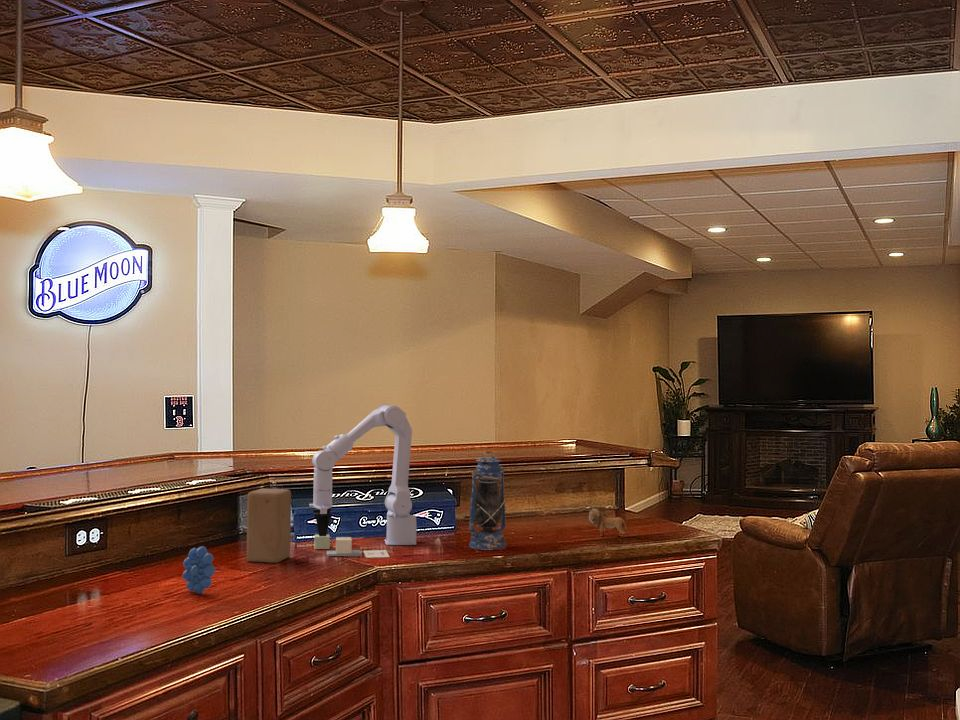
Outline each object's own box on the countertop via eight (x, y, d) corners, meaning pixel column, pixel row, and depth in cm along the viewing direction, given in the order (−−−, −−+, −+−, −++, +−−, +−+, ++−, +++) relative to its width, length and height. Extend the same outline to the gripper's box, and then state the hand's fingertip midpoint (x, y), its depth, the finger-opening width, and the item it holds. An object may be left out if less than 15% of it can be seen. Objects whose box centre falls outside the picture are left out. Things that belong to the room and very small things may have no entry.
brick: (351, 550, 300) (351, 537, 300) (351, 553, 295) (351, 539, 295) (335, 550, 299) (336, 537, 299) (336, 553, 295) (336, 540, 295)
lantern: (483, 553, 303) (484, 454, 302) (456, 547, 311) (457, 451, 311) (518, 547, 313) (519, 451, 313) (491, 541, 322) (492, 448, 322)
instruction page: (385, 550, 304) (386, 549, 304) (389, 557, 295) (389, 556, 295) (362, 551, 303) (363, 550, 303) (365, 557, 293) (365, 556, 293)
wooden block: (277, 564, 283) (278, 493, 283) (245, 562, 285) (246, 492, 285) (291, 557, 293) (292, 489, 293) (259, 555, 295) (260, 487, 295)
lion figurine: (586, 536, 333) (587, 509, 333) (590, 533, 339) (590, 507, 338) (630, 539, 329) (631, 512, 329) (633, 537, 334) (633, 510, 334)
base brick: (359, 554, 301) (359, 549, 301) (361, 557, 296) (361, 552, 296) (326, 555, 299) (326, 550, 299) (327, 559, 294) (328, 554, 294)
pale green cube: (329, 547, 310) (329, 534, 310) (329, 549, 305) (329, 536, 305) (314, 547, 309) (314, 534, 309) (314, 550, 304) (315, 537, 304)
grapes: (227, 594, 247) (228, 546, 247) (204, 599, 241) (205, 549, 241) (198, 587, 254) (199, 540, 254) (175, 591, 249) (176, 543, 249)
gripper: (308, 486, 313) (308, 530, 313) (310, 493, 299) (309, 538, 299) (331, 486, 315) (330, 529, 315) (334, 492, 300) (333, 537, 300)
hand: (322, 533), depth 307 cm, fingers open, 7 cm apart
